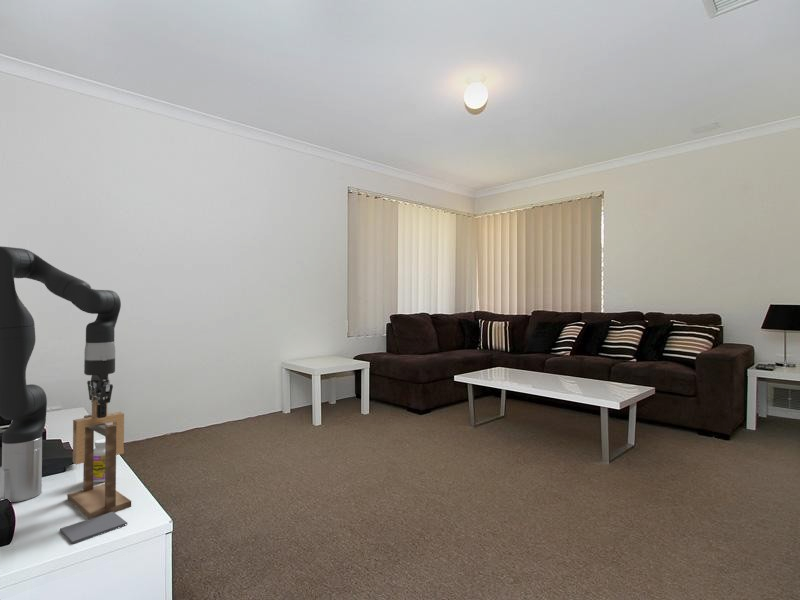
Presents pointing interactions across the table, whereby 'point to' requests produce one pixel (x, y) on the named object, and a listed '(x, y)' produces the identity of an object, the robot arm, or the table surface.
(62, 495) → the table surface
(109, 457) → the stand
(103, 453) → the supplement bottle
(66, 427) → the table surface
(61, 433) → the table surface
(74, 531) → the mat
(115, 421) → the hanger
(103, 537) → the table surface
